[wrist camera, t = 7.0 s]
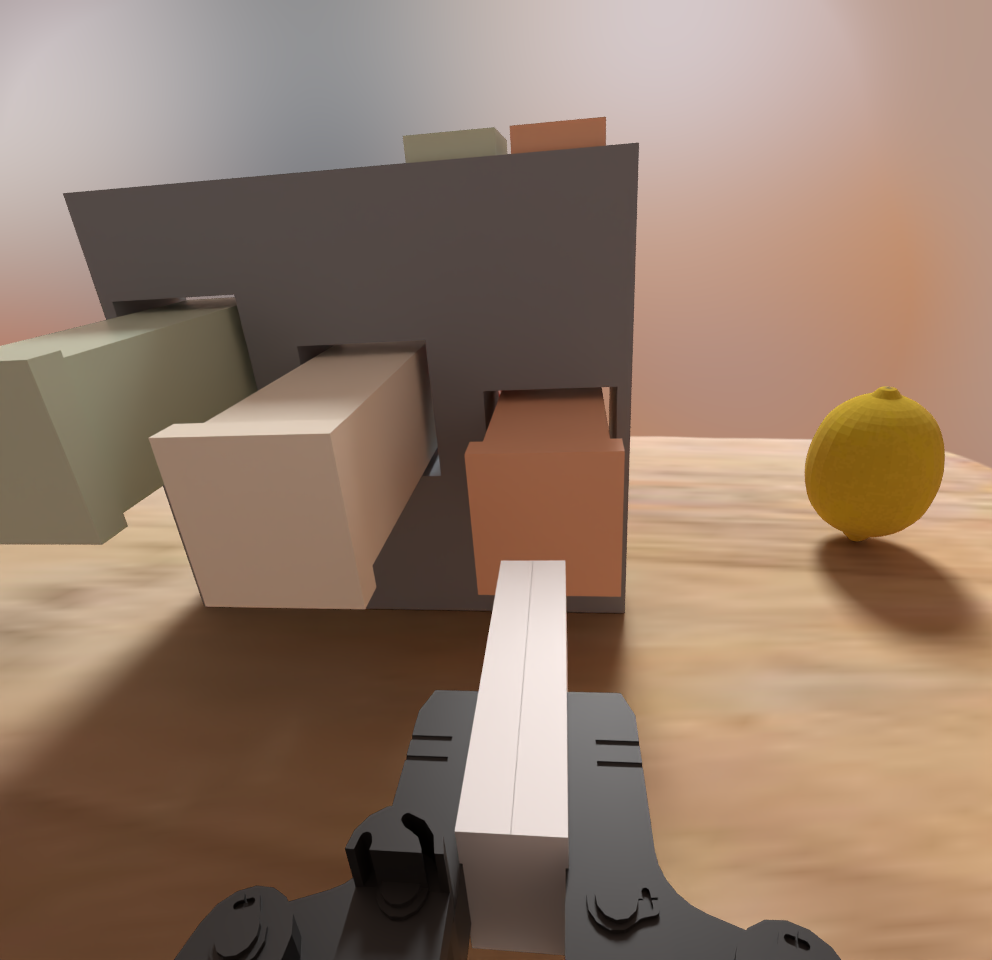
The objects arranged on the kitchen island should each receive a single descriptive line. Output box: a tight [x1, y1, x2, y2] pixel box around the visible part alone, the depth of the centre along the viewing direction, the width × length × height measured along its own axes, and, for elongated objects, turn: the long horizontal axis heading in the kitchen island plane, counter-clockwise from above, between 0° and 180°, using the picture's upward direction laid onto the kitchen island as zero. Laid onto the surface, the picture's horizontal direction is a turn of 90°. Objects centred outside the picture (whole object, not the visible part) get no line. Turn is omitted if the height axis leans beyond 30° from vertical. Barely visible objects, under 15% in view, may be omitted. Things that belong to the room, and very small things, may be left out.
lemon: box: [805, 387, 945, 542], centre depth 28 cm, size 6×6×8 cm
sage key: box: [0, 297, 258, 545], centre depth 21 cm, size 5×13×5 cm, turn 173°
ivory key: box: [149, 340, 438, 609], centre depth 21 cm, size 5×13×5 cm, turn 173°
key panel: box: [63, 117, 639, 613], centre depth 25 cm, size 20×4×19 cm, turn 83°
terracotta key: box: [464, 387, 625, 597], centre depth 24 cm, size 5×13×5 cm, turn 173°
